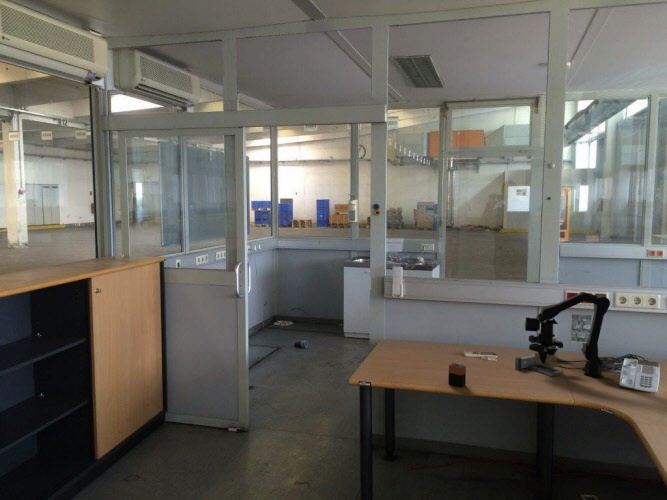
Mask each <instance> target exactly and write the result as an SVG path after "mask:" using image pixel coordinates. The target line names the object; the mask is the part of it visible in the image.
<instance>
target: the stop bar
mask: <svg viewBox="0 0 667 500" xmlns="http://www.w3.org/2000/svg"><path fill="white" fill-rule="evenodd" d="M534 355H535V363H538V364H541V365H544V366H547V367H550V368H557V363H558V362H557V361H558V356H556V357H555V356H552V355H548V354H547V356H546V360H545V363H544V364H543V363H542V362H541V359H540V356H539V353H537V352H535V353H534Z"/></svg>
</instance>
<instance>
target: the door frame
mask: <svg viewBox="0 0 667 500" xmlns="http://www.w3.org/2000/svg"><path fill="white" fill-rule="evenodd" d="M521 358H522V357H519V356H516V357H515V360H514V361H515V362H514V364H515V366H514V370H517V371H520V370H522V369H521Z"/></svg>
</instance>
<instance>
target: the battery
mask: <svg viewBox="0 0 667 500" xmlns="http://www.w3.org/2000/svg"><path fill="white" fill-rule="evenodd" d="M466 371H467V366H466V365H463V364H460V363H459V364H458V363H457V362H451V363H450V364H449V365H448V380H447V381H448V385H451V386H454V387H458V388H463V387H464V386H466V379H467V377H466V376H467V372H466Z"/></svg>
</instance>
